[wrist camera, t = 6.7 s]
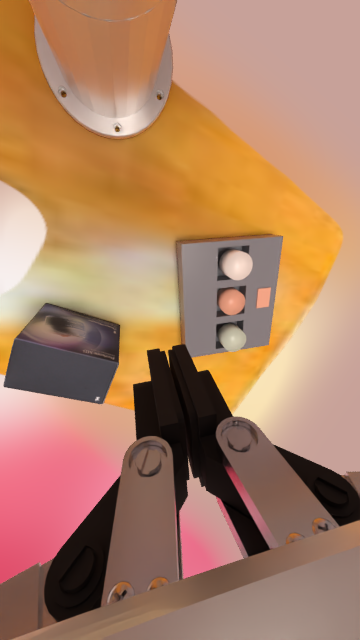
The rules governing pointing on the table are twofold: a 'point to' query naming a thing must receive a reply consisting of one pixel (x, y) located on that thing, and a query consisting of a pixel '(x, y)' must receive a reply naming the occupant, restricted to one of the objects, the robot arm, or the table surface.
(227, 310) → the terracotta button
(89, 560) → the robot arm
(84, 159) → the table surface
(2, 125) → the table surface
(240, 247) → the button box
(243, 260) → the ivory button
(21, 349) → the small box
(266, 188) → the table surface
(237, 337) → the sage button
